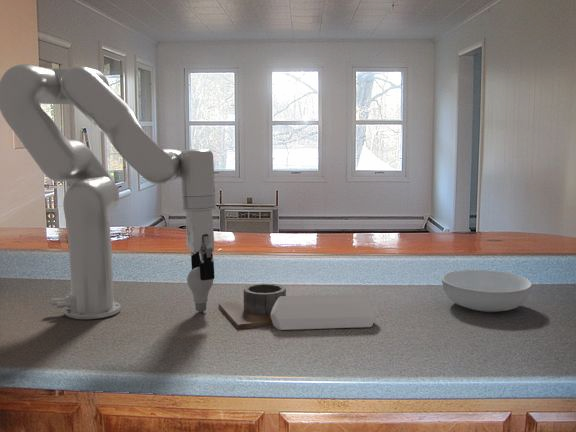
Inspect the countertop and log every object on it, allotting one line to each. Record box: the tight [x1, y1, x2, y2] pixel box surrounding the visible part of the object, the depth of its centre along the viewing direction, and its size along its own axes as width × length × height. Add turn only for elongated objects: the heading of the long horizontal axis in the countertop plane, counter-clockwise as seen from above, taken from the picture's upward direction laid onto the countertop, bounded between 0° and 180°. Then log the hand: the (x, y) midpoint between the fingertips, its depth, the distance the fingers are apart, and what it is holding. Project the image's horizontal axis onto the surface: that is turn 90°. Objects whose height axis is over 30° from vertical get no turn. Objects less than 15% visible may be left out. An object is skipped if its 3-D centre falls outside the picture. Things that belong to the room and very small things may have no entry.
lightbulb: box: [186, 267, 214, 314], centre depth 154 cm, size 6×6×11 cm
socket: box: [218, 282, 287, 330], centre depth 153 cm, size 18×18×6 cm
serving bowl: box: [441, 269, 533, 313], centre depth 158 cm, size 21×21×7 cm
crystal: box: [270, 293, 378, 331], centre depth 145 cm, size 7×7×24 cm
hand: (202, 275), depth 153 cm, fingers open, 9 cm apart
